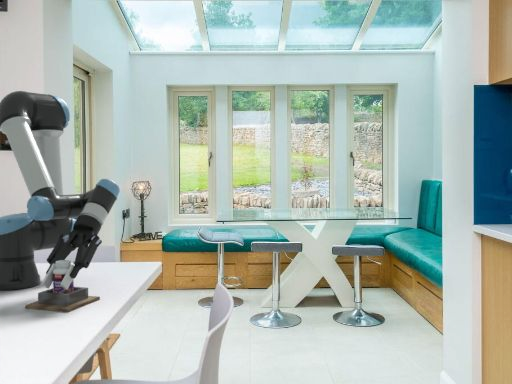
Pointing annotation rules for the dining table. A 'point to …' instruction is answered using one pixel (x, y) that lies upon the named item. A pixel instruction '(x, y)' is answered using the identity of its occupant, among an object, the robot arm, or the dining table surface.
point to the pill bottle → (61, 277)
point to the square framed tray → (62, 300)
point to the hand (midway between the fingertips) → (54, 286)
